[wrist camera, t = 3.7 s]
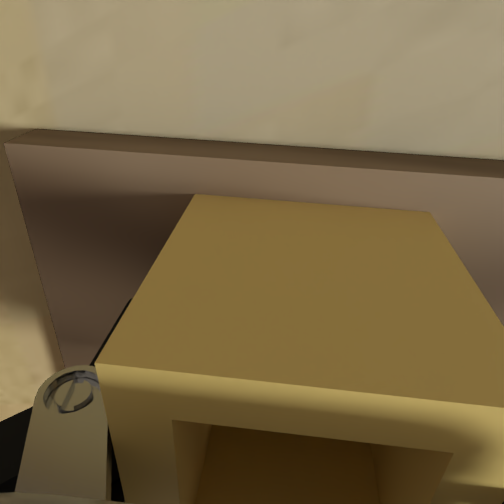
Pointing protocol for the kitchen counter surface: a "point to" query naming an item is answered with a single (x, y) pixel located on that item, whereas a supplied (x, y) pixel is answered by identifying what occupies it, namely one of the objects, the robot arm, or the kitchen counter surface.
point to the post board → (219, 184)
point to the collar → (306, 363)
